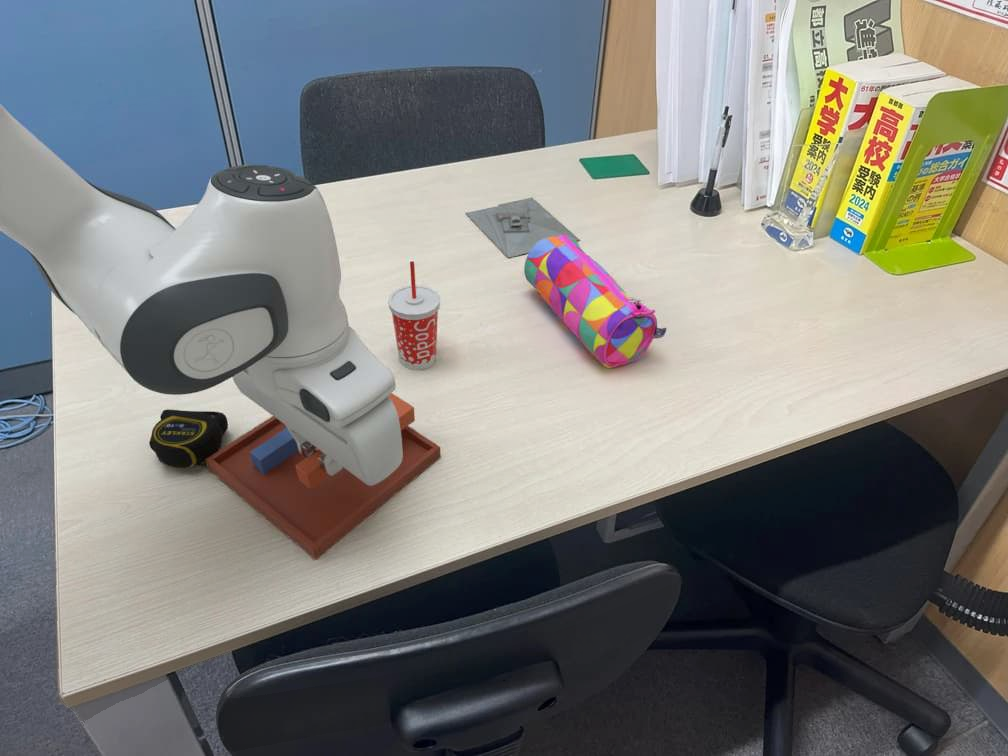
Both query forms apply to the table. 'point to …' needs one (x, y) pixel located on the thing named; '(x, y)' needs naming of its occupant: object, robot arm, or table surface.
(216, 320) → the robot arm
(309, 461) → the rust stepped bar
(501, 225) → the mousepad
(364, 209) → the table surface
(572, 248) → the pencil case
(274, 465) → the blue stepped bar
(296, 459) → the rust tray
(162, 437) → the tape measure
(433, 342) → the beverage cup
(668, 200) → the table surface
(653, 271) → the table surface
